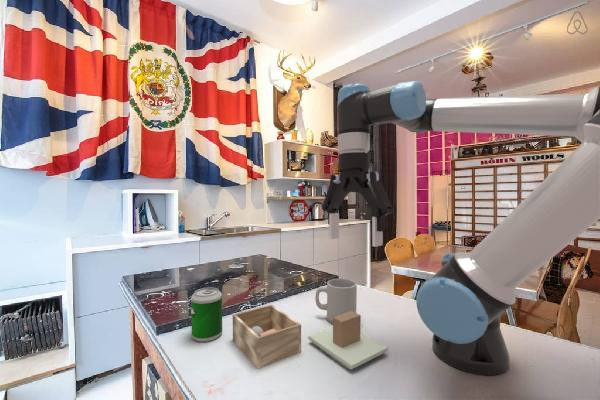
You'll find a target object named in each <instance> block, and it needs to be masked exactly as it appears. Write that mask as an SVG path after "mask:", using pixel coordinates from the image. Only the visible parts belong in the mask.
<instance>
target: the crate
mask: <svg viewBox="0 0 600 400" xmlns="http://www.w3.org/2000/svg"><path fill="white" fill-rule="evenodd" d="M255 326H258V327H261V328H262V330H263V332H266V331H268V330H271V329H275V330H277V331H275V332H272V333H269V334H265V335H262V336H258V335H257V334H256V333H255V332H254V331H253V330H252V328H253V327H255ZM232 341H233V342H234V344H235V345H236V346H237V347H238V348H239V349H240V350H241V351H242V352H243V354H244V355H245V356H246V357H247V358H248V359H249V361H251V362H252V364H253V365H254V366H255V367H256V368H257V369H261V368H264V367H266V366H269V365H271V364H274V363H277V362H279V361H282V360H284V359H286V358H287V359H288V358H289V357H292V356H295V355H297V354H300V353H302V324H301V323H300V322H298V321H297V320H296V319H294V318H292V317H290V316H289V315H288V314H286V313H285V312H283V311H282V310H280V309H279V308H278V307H276V306H275V305H273V304H269V305H264V306H261V307H260V306H259V307H257V308H253V309H249V310H244V311H241V312H237V313H233V314H232Z"/></svg>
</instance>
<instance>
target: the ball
mask: <svg viewBox="0 0 600 400" xmlns="http://www.w3.org/2000/svg"><path fill="white" fill-rule="evenodd" d="M252 330H253V331H254V332H255V333H256V334H257V335H258V336H259V334H261V333H264V332H263V330H262V328H261V327H258V326H255V327H253V328H252Z"/></svg>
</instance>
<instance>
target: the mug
mask: <svg viewBox="0 0 600 400" xmlns="http://www.w3.org/2000/svg"><path fill="white" fill-rule="evenodd" d="M357 285H358V284H357V282H356V281H355V280H352V279H348V278H333V279H329V280H328V281H327V283H326V286H325V285H324V286H323V285H321V286H319V287H318V288H317V289H316V291H315V305H316V306H317V308H318V309H320V310H323V311H326V320H327V322H328V323H329V324H330V325H332V326H333V317H335V316H338V315H341V314H344V313H346V312H349V311H353V312H355V313H357V297H358V296H357V293H358V292H357V291H358V290H357V289H358V288H357V287H358V286H357ZM320 293H326V296H327V297H326V302H327V303H321V302H320V298H319V297H320Z"/></svg>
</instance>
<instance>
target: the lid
mask: <svg viewBox="0 0 600 400" xmlns="http://www.w3.org/2000/svg"><path fill="white" fill-rule="evenodd" d="M361 328H362V327H361V314H359V313H357V312H356V313H355V312H353V311H349V312H346V313H344V314H341V315H338V316H335V317H333V325H332V326H331V327H328V328H325V329H323V330H320V331H317V332H314V333H312V334H309V335H307V337H308V338H307V339H308V340H309V341H311V342H312V343H313V344H314V345H315V344H316V345H318V346H319V347H320V348H322V349H323V350H325V351H326V352H328V353H329V354H330V355H332V356H333V357H335V358H336V359H338V360H339V361H340V362H342V363H343V364H345V365H346V366H348V367H349V368H350V369H349V370H353V369H355V368H357V367H359V366H361V365H363V364H365V363H367V362H369V361H371V360H373V359H375V358H377V357H379V356H381V355H383V354H385V353H387V352H388V351H389V347H388V346H386V345H385V344H383V343H381V342H379V341H377V340H375V339H374V338H372V337H369V336H368V335H366V334H365V333H363V332H361ZM316 345H315V346H316ZM319 347H318V348H319ZM320 348H319V349H320ZM323 350H322V351H323ZM326 352H325V353H326ZM330 355H329V356H330Z"/></svg>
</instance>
